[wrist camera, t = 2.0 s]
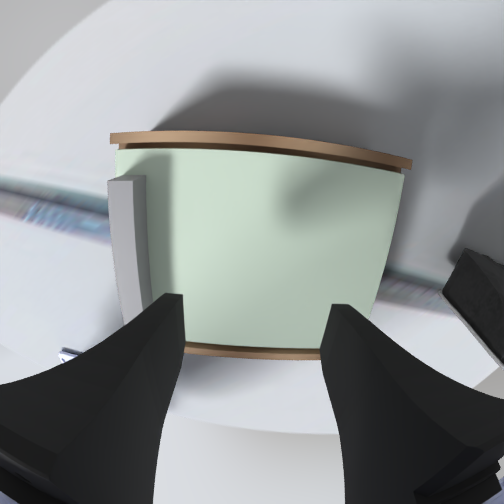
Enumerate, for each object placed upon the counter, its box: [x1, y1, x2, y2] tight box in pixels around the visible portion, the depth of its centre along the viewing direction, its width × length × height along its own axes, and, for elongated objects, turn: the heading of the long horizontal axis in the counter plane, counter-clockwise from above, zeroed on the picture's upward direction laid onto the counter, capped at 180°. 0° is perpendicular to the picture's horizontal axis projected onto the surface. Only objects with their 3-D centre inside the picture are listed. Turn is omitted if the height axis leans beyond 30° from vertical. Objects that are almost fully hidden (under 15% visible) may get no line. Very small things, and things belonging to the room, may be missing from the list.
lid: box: [107, 148, 405, 348], centre depth 13 cm, size 14×10×2 cm
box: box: [110, 131, 412, 360], centre depth 16 cm, size 14×12×5 cm
